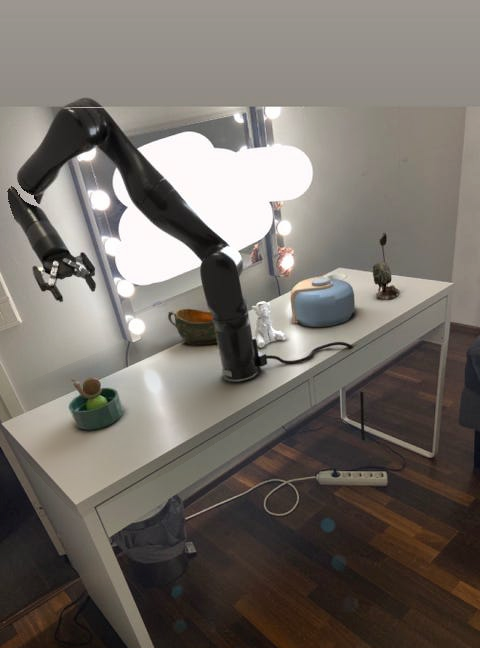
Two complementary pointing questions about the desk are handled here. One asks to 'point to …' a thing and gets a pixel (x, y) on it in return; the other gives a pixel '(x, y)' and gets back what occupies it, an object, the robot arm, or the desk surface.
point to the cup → (194, 326)
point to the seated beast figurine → (265, 326)
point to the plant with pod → (383, 276)
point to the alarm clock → (322, 302)
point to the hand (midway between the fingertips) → (78, 294)
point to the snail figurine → (91, 393)
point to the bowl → (96, 411)
